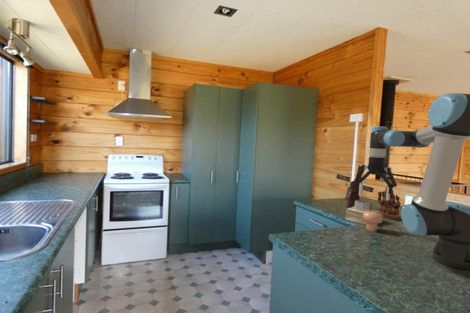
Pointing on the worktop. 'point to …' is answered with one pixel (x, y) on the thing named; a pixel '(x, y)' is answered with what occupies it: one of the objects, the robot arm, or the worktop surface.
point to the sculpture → (389, 205)
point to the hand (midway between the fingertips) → (373, 197)
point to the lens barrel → (363, 205)
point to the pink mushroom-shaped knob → (372, 220)
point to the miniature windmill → (353, 189)
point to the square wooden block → (356, 215)
